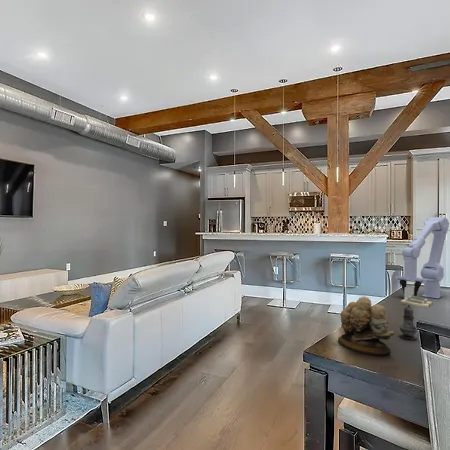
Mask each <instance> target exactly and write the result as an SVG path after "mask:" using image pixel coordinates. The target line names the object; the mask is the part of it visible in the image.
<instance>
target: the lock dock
mask: <svg viewBox="0 0 450 450" xmlns="http://www.w3.org/2000/svg"><path fill="white" fill-rule="evenodd" d="M399 304H400V305H406V306H408V304H409V305H410V306H413V307H419V308H424V309H428V308H430V307H431V306H432V305H433V304H434V302H433V301H431V300H428V298H423V297H417V296H416V297H411V296H409V297H408V298H405V299H402V300H400V301H399Z"/></svg>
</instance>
